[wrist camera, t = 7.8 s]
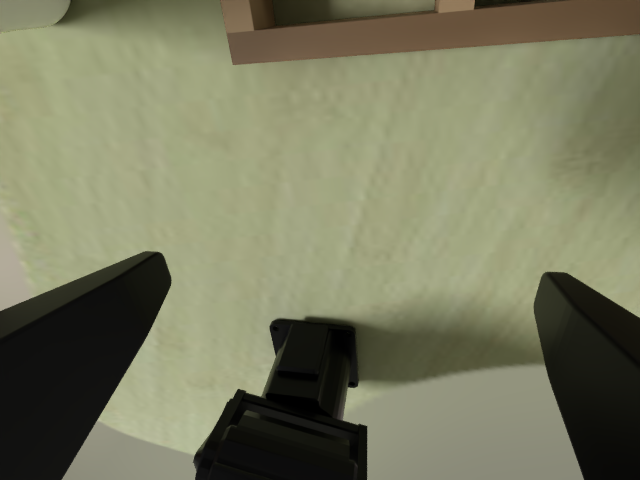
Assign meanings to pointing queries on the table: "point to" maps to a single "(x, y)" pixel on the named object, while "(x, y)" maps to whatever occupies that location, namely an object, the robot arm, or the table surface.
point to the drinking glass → (30, 13)
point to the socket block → (421, 28)
